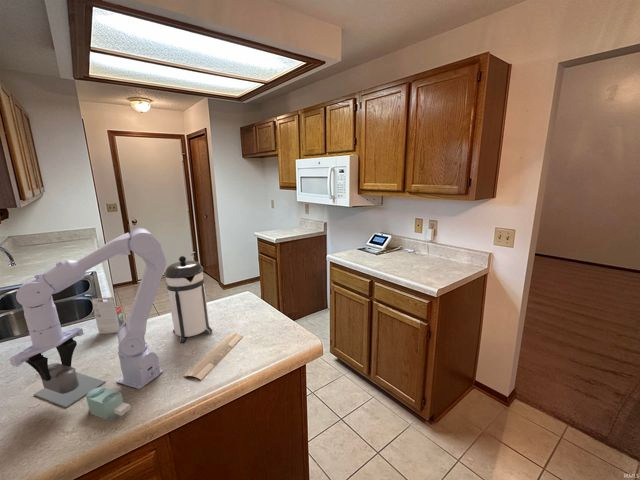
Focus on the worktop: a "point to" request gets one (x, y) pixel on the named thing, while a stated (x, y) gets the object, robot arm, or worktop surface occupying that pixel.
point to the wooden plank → (214, 356)
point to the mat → (71, 397)
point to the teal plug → (106, 403)
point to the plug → (61, 378)
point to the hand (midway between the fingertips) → (57, 373)
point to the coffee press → (187, 298)
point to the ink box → (107, 315)
